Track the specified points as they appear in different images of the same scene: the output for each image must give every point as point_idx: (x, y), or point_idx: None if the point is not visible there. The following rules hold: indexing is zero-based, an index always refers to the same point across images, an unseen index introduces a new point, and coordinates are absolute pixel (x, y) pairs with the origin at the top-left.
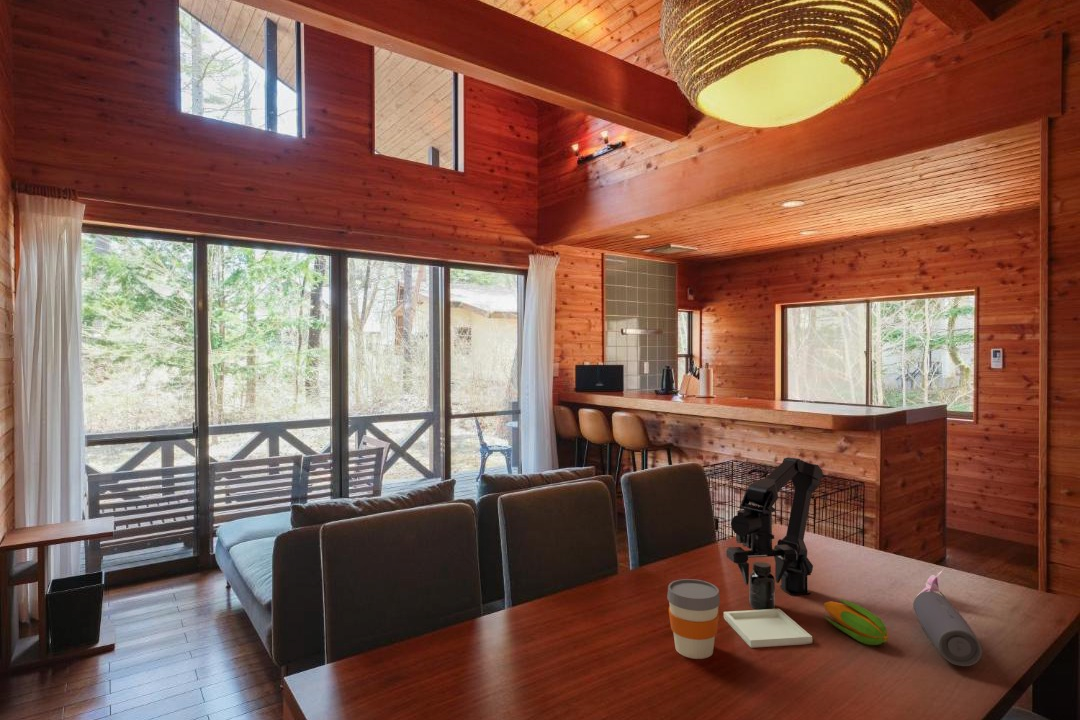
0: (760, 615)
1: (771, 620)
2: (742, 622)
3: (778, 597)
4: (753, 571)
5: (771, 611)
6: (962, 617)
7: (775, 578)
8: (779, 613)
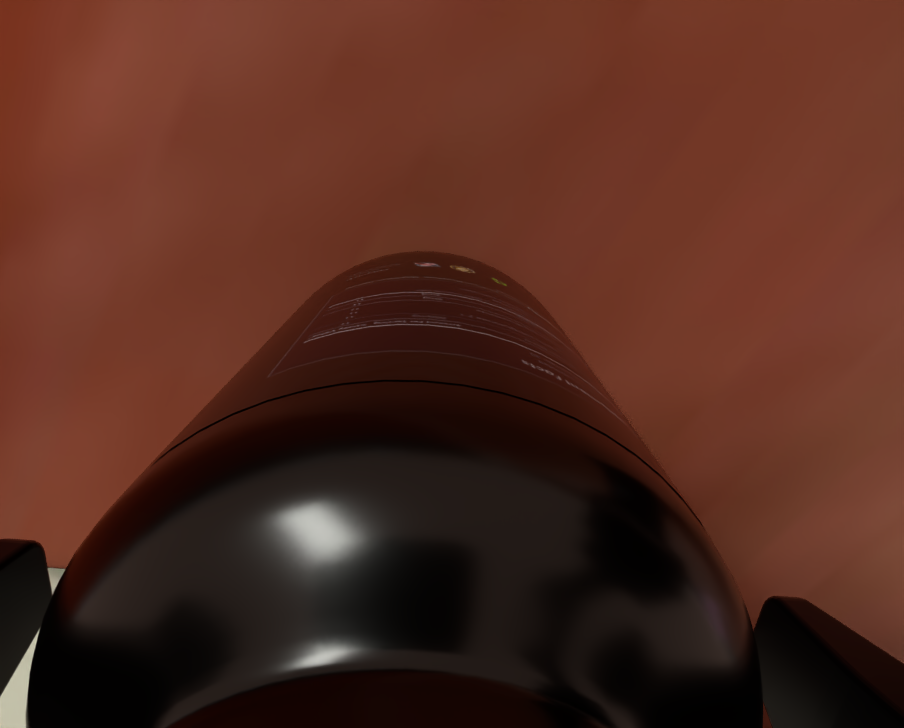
0: None
1: None
2: (25, 684)
3: (814, 196)
4: (151, 703)
5: None
6: None
7: (816, 650)
8: None
